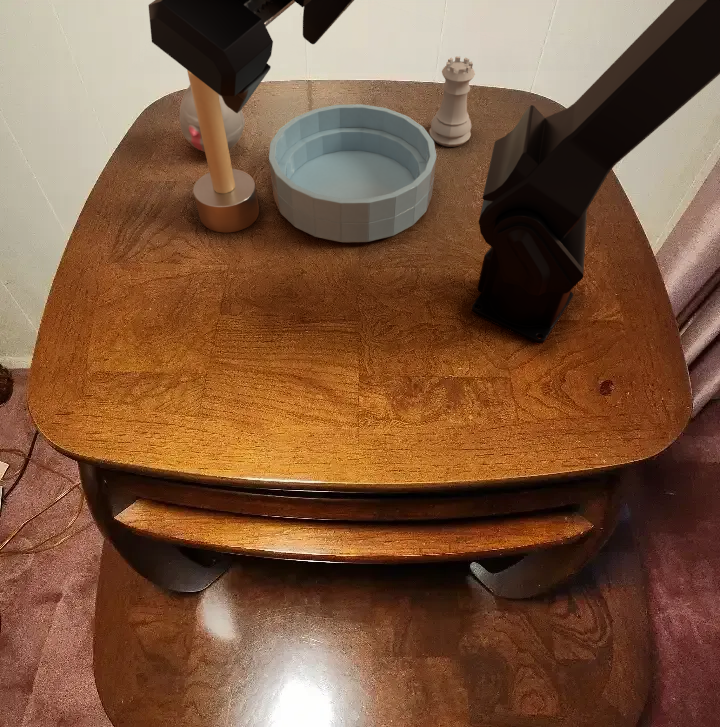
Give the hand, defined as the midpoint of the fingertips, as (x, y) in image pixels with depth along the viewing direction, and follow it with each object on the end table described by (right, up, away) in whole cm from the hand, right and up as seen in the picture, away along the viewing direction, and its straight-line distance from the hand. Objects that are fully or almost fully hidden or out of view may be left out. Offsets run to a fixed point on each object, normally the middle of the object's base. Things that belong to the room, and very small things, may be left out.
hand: (272, 72), depth 46 cm
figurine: (-9, +1, +19) cm, 21 cm away
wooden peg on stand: (-6, -7, +13) cm, 16 cm away
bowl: (+6, -5, +14) cm, 16 cm away
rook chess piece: (+16, +3, +21) cm, 26 cm away
